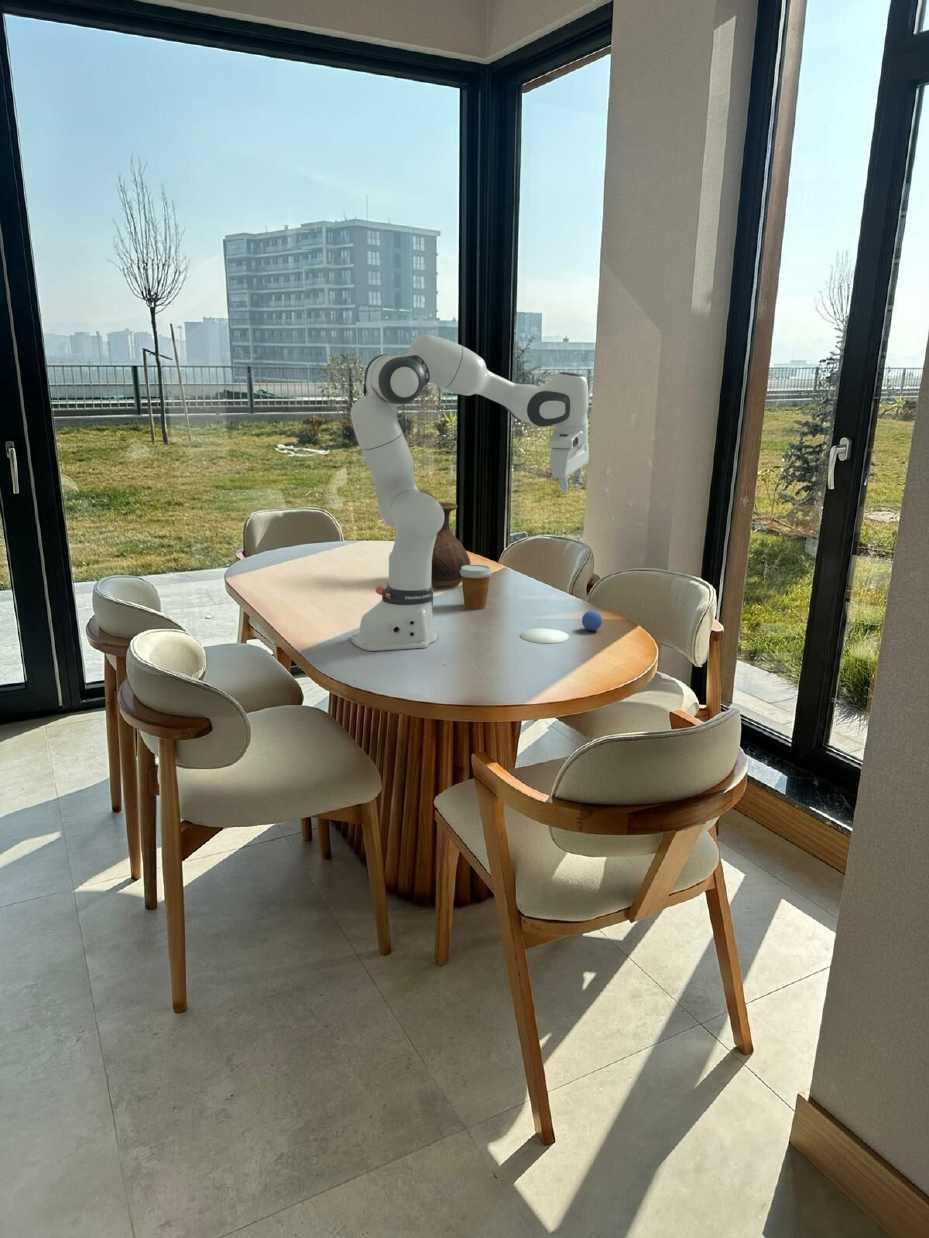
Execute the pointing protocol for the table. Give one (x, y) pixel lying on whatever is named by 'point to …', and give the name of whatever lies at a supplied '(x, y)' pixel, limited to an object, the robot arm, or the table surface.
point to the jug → (447, 553)
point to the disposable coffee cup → (475, 585)
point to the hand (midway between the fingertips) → (570, 487)
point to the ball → (592, 620)
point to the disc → (544, 636)
